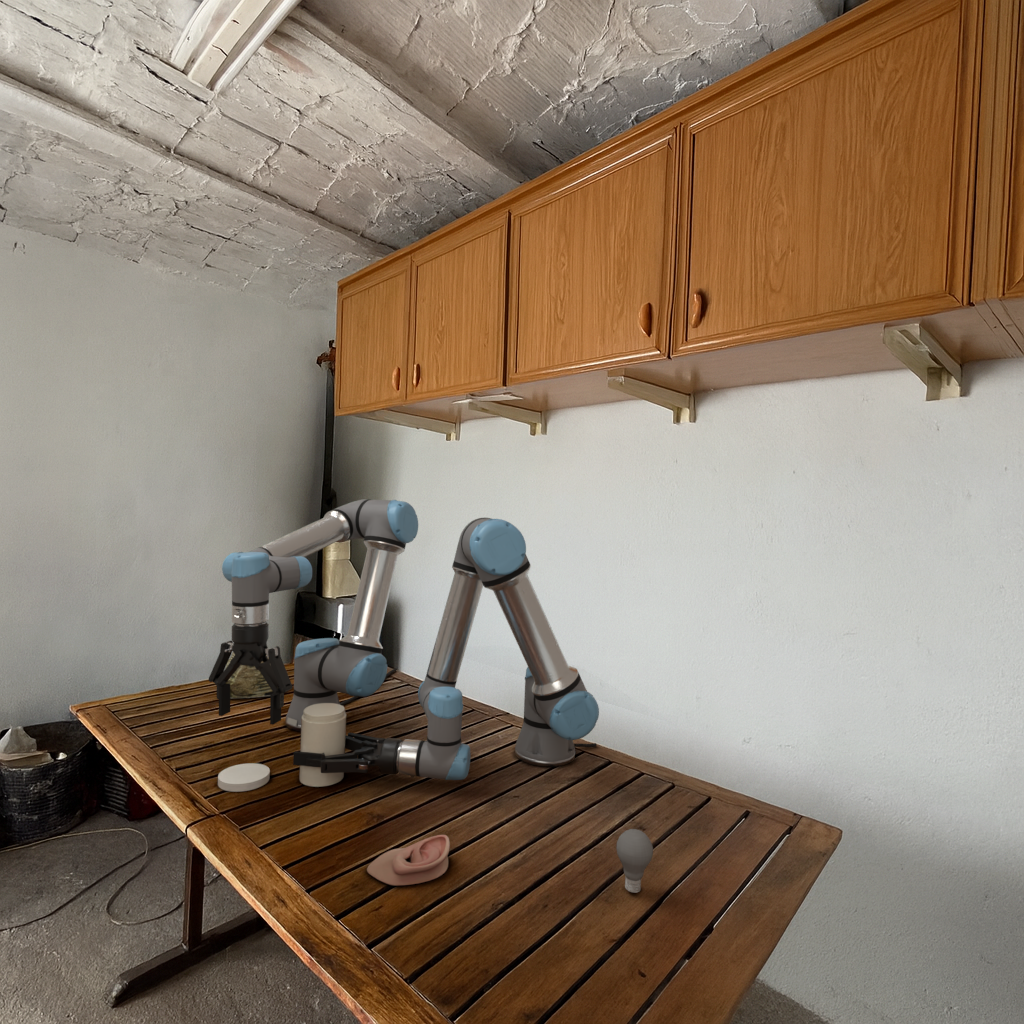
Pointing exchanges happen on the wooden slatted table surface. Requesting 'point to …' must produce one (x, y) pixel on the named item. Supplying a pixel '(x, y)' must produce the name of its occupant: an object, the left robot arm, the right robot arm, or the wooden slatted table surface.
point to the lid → (243, 777)
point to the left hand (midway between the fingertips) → (249, 718)
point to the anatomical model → (412, 862)
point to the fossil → (248, 682)
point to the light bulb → (634, 857)
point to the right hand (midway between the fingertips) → (304, 748)
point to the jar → (322, 740)
